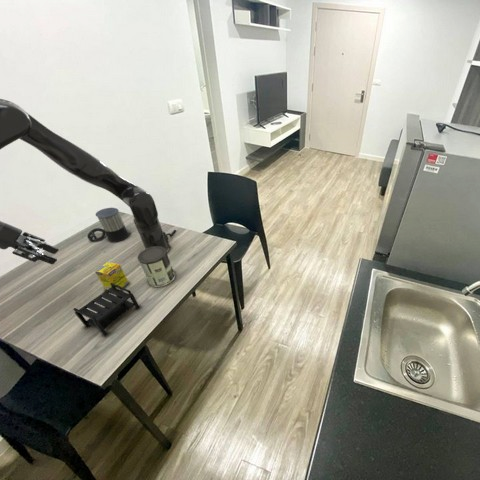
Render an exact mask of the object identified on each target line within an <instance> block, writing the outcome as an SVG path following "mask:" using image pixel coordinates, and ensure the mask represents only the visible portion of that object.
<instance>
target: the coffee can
mask: <svg viewBox="0 0 480 480" xmlns="http://www.w3.org/2000/svg"><path fill="white" fill-rule="evenodd" d="M136 258H137V260H138V262H139V264H140V266H141V268H142V270H143V272H144V274H145V277H146V278H147V281H148V284H149V285H150V286H151V287H154V288H161V287H165V286H167V285H169V284H171V283H172V282H173V281H174V280H175V278H176V273H175V271H174V269H173V266H172V262H171V260H170V258H169V255H168V252H167V251H166V249H165V248H164V247H161V246H154V247H149V248H147V249H145V248H144V249H143V250H141V251H140V252H139V253H138V255H137V257H136Z"/></svg>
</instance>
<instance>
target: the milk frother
mask: <svg viewBox="0 0 480 480" xmlns="http://www.w3.org/2000/svg"><path fill="white" fill-rule="evenodd" d="M95 217H96V218H97V219H98V221H99V223H100V225H101V227H102V228H100V227H96V228H93V229H91V230H90V231H89V232H88V234H87V236H86V237H87V239H88V240H89V241H91V242H97V241H101V240H104V238H105V237H107V241H109V242H113V243H114V242H121V241H124V240H125V239H127V238H129V236H130V232H129V231H128V229H127V228H126V225H125V223H124V221H123V219H122V216H121V214H120V211H119V209H118V208H117V207H106V208H105V207H104V208H102V209H100V210H97V211H96V212H95ZM96 232H101V233H102V235H101V236H99V237H97V235H96V234H95V233H96Z"/></svg>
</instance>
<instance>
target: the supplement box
mask: <svg viewBox="0 0 480 480" xmlns="http://www.w3.org/2000/svg"><path fill="white" fill-rule="evenodd" d="M94 272H95V274H96V276H97V278H98V279H99V281H100V282H101V284H102V287H104V289H105V291H106V290H108V289H109V288H111V287H112V286H111V285H110V283H113V284H116V285H118V286H120V287H123V288H126V286H128V285H130V282H129V280H128V278H127V276H126V274H125V272H124V271H123V268H122V266H121V264H120V263H116V262H112V261H111V262H110V261H106V262H105V263H104V264H103V265H102V266H100V267H98V268H96V270H94ZM116 288H117V287H116ZM117 289H118V290H121V291H123V290H122V289H119V288H117Z"/></svg>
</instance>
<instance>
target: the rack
mask: <svg viewBox="0 0 480 480" xmlns="http://www.w3.org/2000/svg"><path fill="white" fill-rule="evenodd" d="M110 285H111V286H112V287H111V288H109V289H108V290H106V289H105V291H104V292H102V293H101V294H99V295H98V296H96V297H95V298H93V299H92V300H90V301H89V302H88V303H86V304H85V305H83V306H82V307H81V308H79V309H78V308H76V307H74V308H72V310H73V311H74V315H76V317H77V318H78V319H79V320H80V322H81V323H82V324H83V326H84V327H85V328H89V327H90V326H93V327H95V328H97V329H98V331H99V332H100V333H101V335H102V336H104V337H107V336H108V335H109V334H108V332H107V330H106V329H107V328H109V327H110V326H111V325H112V324H114V323H115V322H117V320H119V319H120V318H122V316H123V315H125V314H126V313H127V312H128V311H130V310H131V309H132V308H133V307H135V309H136V310H139V309H140V308H141V306H140V305H139V303H138V301H137V299H136V297H135V295H134V294H133V293H132V291H131V290H130V289H127V288H126V287H124V288H123V287H120V286H118V285H116V284H113V283H110ZM116 287H117V288H119V289H122V290H118V289H117V288H116ZM129 299H130V300H131V301H129ZM85 317H86V318H87V319H86V318H85Z"/></svg>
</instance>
